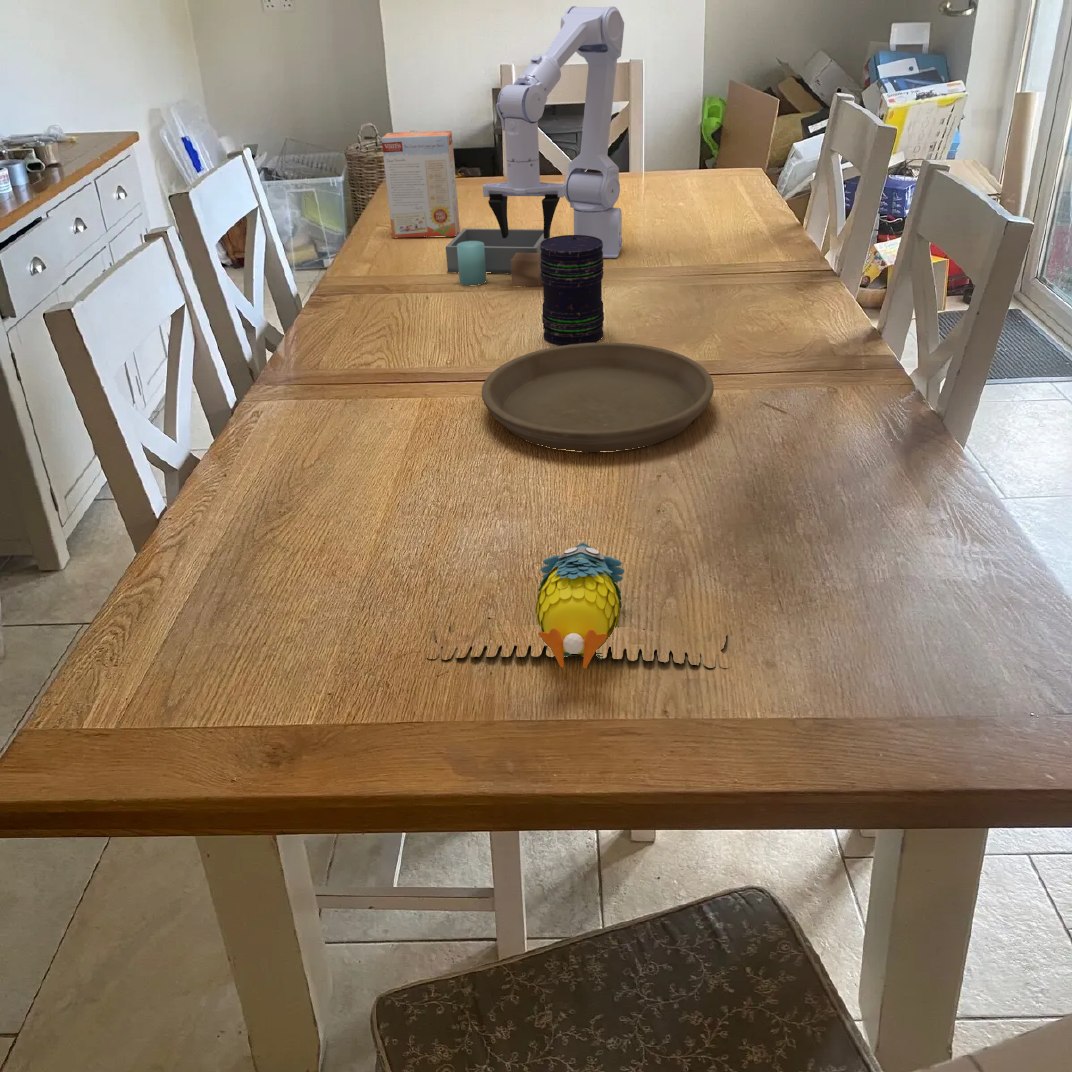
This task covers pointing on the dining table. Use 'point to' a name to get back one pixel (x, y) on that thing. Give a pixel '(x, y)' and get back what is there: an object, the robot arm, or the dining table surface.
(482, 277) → the teal cylinder
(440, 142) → the cracker box
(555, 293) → the storage jar
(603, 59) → the robot arm
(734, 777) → the dining table surface
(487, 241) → the tote
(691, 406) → the plant saucer
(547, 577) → the owl figurine
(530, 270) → the walnut block
